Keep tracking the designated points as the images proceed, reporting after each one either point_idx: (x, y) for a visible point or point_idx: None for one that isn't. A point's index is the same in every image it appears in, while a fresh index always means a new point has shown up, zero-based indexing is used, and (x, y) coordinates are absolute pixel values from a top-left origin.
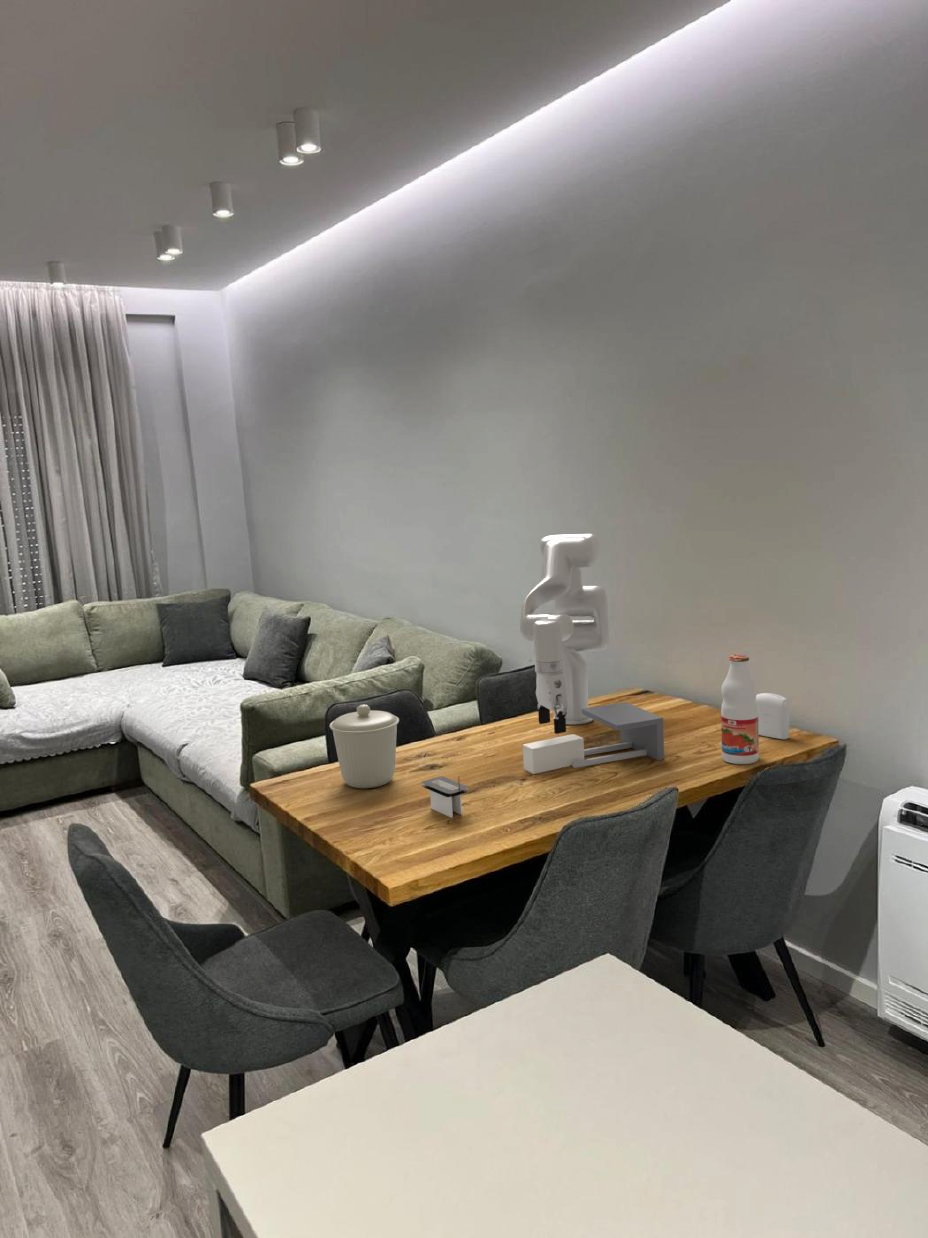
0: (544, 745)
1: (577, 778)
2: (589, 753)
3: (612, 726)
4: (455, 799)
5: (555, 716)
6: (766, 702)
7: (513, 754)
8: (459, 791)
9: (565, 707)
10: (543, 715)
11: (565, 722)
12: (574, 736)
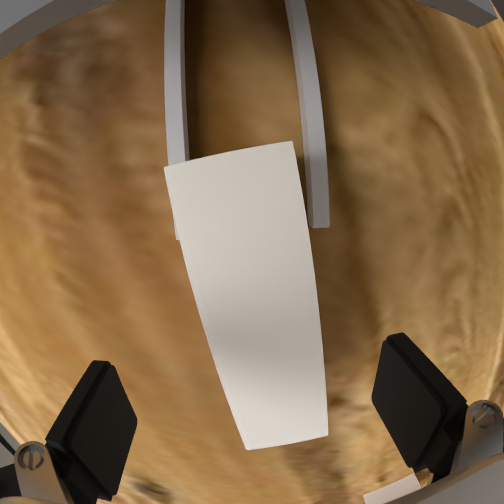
0: (313, 393)
1: (418, 258)
2: (184, 97)
3: (449, 4)
4: (409, 493)
5: (439, 478)
6: None
7: (86, 356)
8: None
9: None
10: (112, 446)
11: (439, 374)
12: (226, 181)
